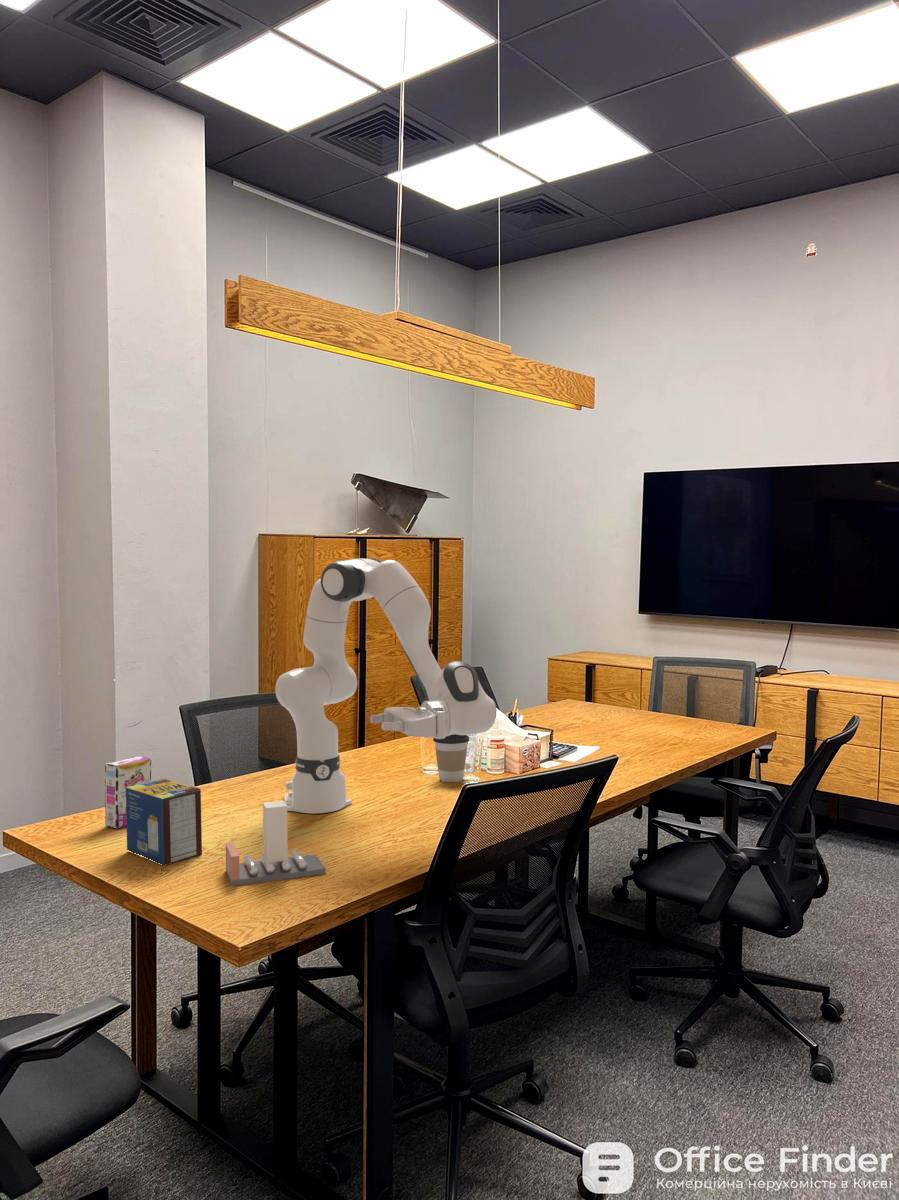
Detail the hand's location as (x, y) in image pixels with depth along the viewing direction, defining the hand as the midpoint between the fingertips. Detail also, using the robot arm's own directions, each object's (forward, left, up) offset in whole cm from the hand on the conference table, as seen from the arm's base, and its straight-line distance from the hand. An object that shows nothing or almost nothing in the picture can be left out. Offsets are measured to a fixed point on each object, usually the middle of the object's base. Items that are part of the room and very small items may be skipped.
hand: (376, 723), depth 211 cm
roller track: (+7, -25, -30) cm, 40 cm away
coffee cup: (-55, +40, -30) cm, 74 cm away
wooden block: (+7, -25, -27) cm, 37 cm away
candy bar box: (-43, -54, -30) cm, 75 cm away
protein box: (-15, -47, -30) cm, 58 cm away
